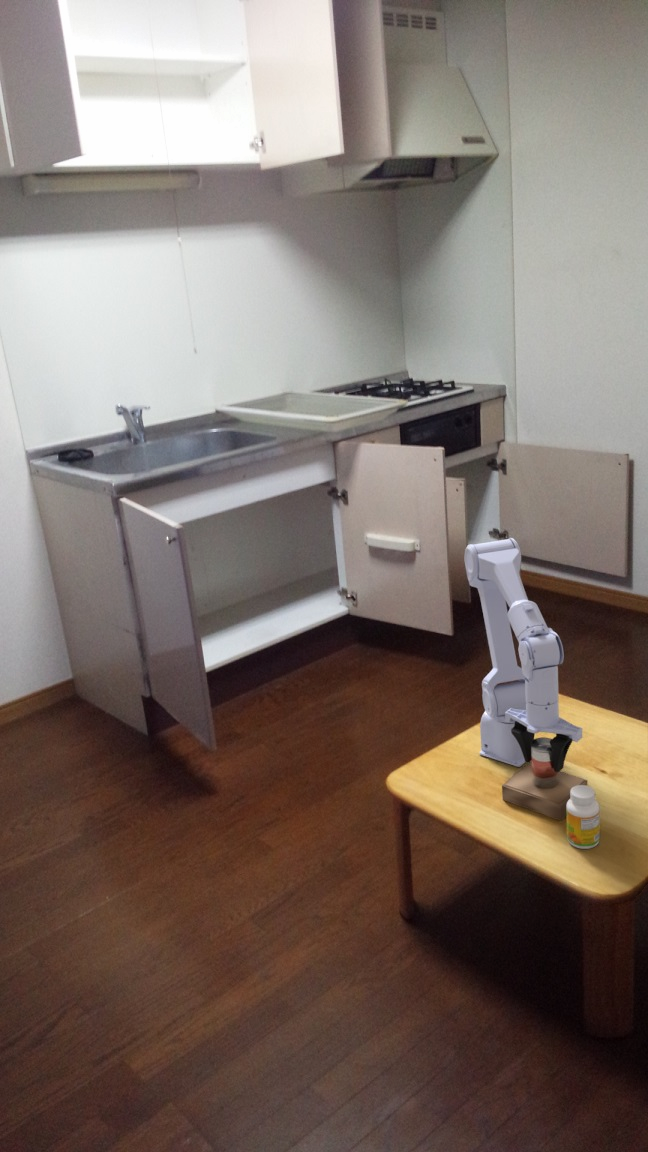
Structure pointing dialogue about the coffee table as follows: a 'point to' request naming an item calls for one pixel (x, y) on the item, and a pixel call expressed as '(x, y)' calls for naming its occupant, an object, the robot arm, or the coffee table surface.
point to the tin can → (543, 764)
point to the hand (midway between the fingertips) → (544, 764)
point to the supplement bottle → (583, 818)
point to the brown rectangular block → (540, 792)
